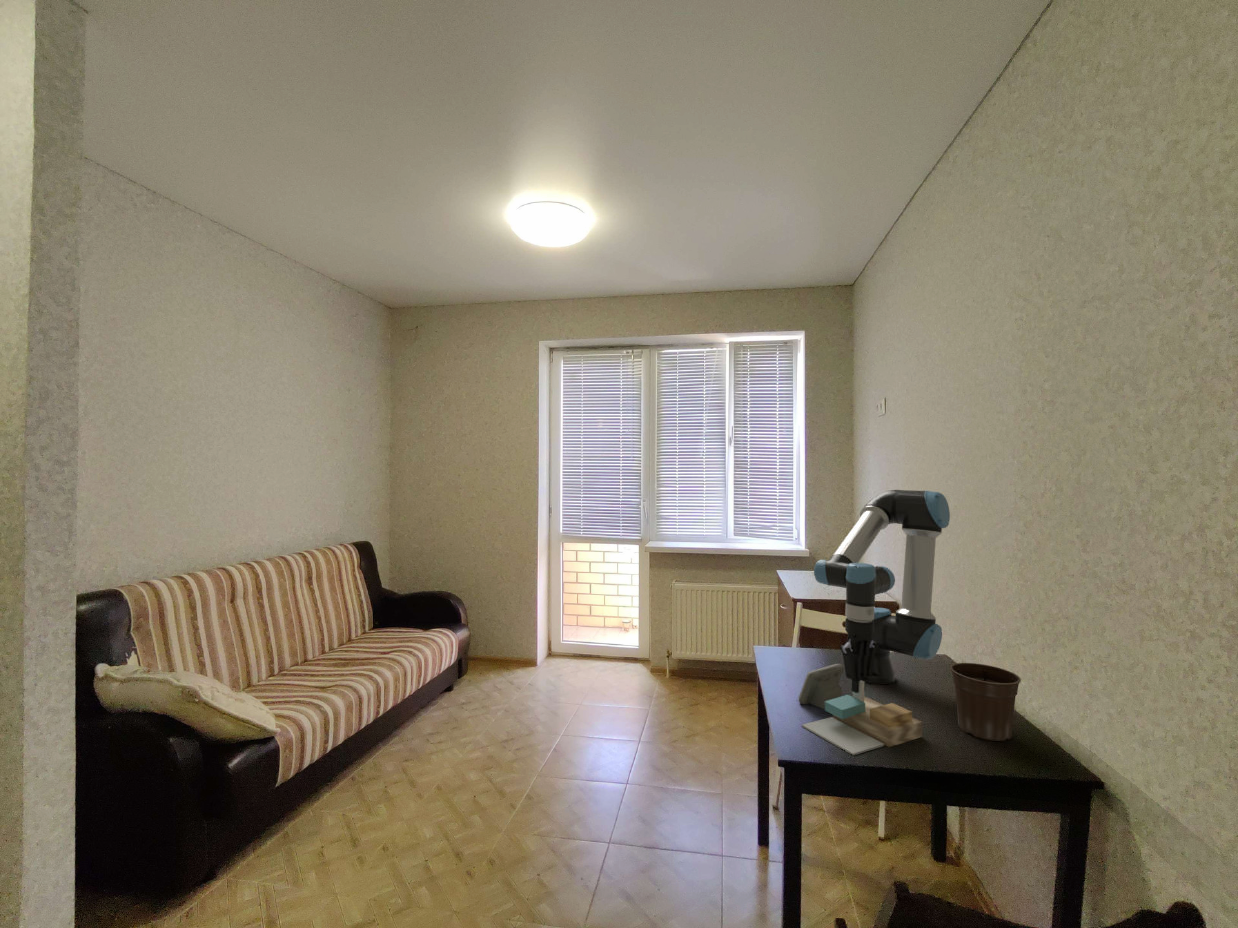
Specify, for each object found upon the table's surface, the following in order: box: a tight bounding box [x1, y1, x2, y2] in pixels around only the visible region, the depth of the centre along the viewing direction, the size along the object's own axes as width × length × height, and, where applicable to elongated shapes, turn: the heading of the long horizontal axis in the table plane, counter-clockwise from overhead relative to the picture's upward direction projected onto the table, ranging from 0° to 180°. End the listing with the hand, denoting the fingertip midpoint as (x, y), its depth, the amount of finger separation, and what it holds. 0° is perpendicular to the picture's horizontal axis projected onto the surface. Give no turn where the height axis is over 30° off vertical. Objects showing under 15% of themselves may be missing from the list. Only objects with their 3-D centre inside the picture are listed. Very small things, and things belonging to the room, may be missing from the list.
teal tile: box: [824, 694, 865, 719], centre depth 155 cm, size 9×6×2 cm, turn 117°
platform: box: [832, 696, 923, 748], centre depth 154 cm, size 13×18×4 cm
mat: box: [801, 716, 885, 756], centre depth 149 cm, size 12×17×1 cm
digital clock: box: [798, 663, 845, 710], centre depth 171 cm, size 16×9×11 cm, turn 112°
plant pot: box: [949, 662, 1022, 742], centre depth 153 cm, size 16×16×16 cm
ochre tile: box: [870, 702, 913, 728], centre depth 150 cm, size 9×6×2 cm, turn 117°
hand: (858, 702), depth 157 cm, fingers closed
